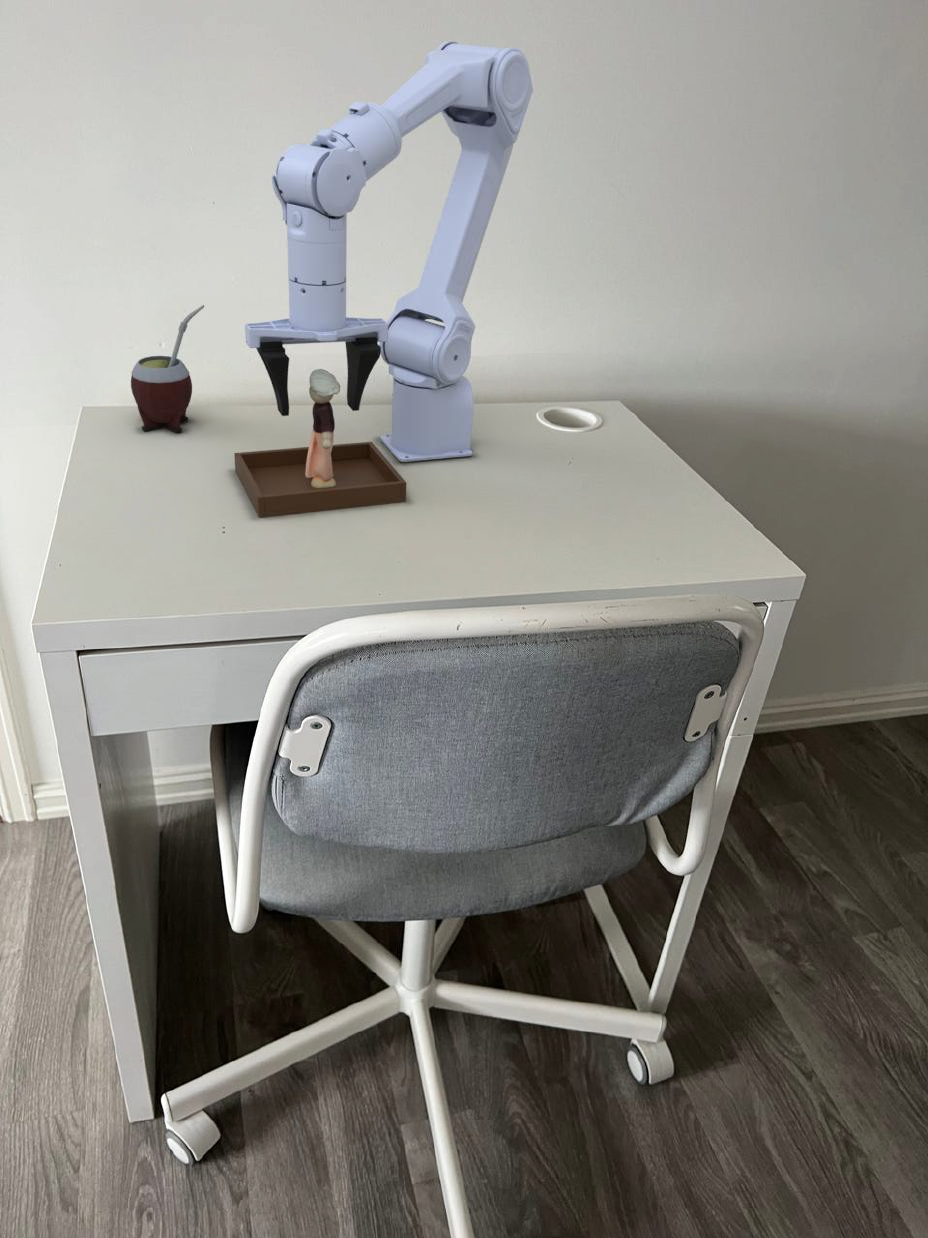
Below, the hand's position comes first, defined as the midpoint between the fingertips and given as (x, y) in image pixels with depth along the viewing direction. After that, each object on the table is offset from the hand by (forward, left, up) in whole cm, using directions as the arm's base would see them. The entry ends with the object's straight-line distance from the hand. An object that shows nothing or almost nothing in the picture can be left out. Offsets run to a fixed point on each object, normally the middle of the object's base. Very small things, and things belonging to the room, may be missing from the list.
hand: (318, 410), depth 104 cm
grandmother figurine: (0, 0, -8) cm, 9 cm away
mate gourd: (+13, -22, -9) cm, 27 cm away
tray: (0, 0, -9) cm, 9 cm away
